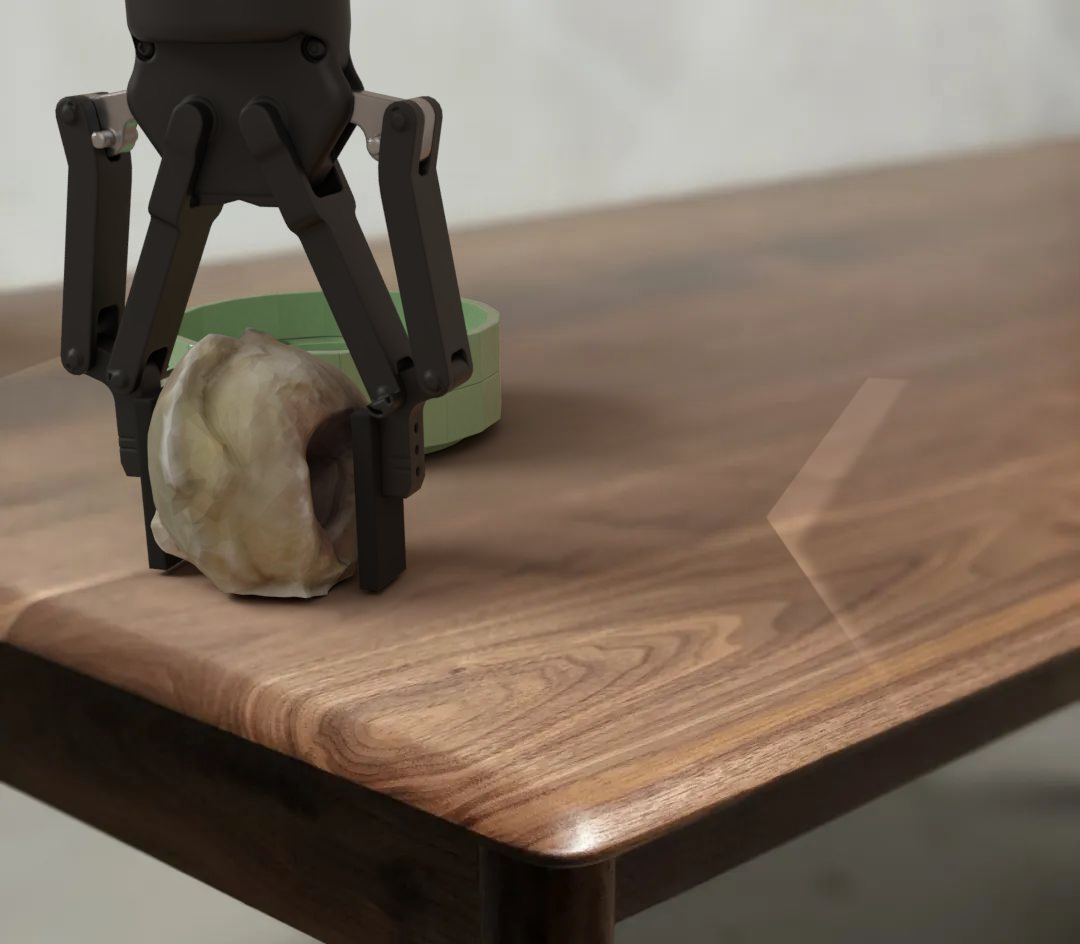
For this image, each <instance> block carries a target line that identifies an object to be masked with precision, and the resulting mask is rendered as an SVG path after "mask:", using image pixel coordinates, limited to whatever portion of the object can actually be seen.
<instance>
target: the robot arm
mask: <svg viewBox="0 0 1080 944" xmlns="http://www.w3.org/2000/svg"><path fill="white" fill-rule="evenodd" d="M124 6H125V7H124V8H125V17H126V26H127V30H128V31H129V34H130V37H131V40H132V43H133V47H134V53H135V55H134V56H135V57H134V64H133V68H132V72H131V74H130V77H129V79H128V82H127V86H126V89H124V90H123V89H122V90H118V91H113V92H108V91H96V92H89V93H84V94H83V93H82V94H75V95H67V96H64V97H62V98H60V99H59V100H58V102H57V103H56V106H55V109H54V111H55V112H54V114H55V121H56V123H57V128H58V131H59V135H60V140H61V144H62V147H63V151H64V156H65V159H66V163H67V186H66V187H67V188H66V189H67V190H66V210H65V213H66V214H65V217H66V218H65V232H64V233H65V237H64V259H63V260H64V261H63V285H62V305H61V308H62V310H61V332H60V354H59V355H60V362H61V364H62V366H63V368H64V369H65V370H66V372H67V373H69V374H70V375H73V376H81V375H86V376H88V377H90V378H91V379H94V380H97V381H99V382H101V383H102V384H104V385H105V386H106V387H107V388H108V389H109V391H110V392H111V394H112V396H113V401H114V410H115V419H116V420H115V421H116V428H117V429H116V430H117V437H118V439H117V440H118V447H119V458H120V459H119V460H120V464H121V467H122V469H123V471H124V473H125V475H126V477H131V478H140V487H141V497H142V509H143V519H144V529H145V540H146V541H145V542H146V550H147V560H148V569H150V570H160V571H168V570H170V569H171V568H173V567H175V566H177V565H178V564H180V563H181V562H183V561H185V560H184V559H182V558H179V557H177V556H175V555H172V554H169V553H166V552H165V551H163V550H162V549H161V548H160V547H159V545H158V544H157V542H156V541H155V538H154V535H153V532H152V529H151V522H152V520H153V518H154V516H155V513H156V507H155V504H154V499H153V493H152V487H151V481H150V475H149V468H148V432H149V427H150V423H151V419H152V415H153V411H154V408H155V406H156V403H157V400H158V398H159V395H160V393H161V391H162V389H163V387H164V386H163V387H162V380H163V379H165V378H168V377H169V376H170V374H171V372H172V371H173V369H174V368H172V369H170V370H167V369H168V368H169V366H168V365H169V361H170V358H171V355H172V352H173V348H174V345H175V342H176V339H177V336H178V332H179V329H180V326H181V323H182V319H183V316H184V313H185V310H186V308H187V306H188V304H189V303H188V302H189V299H190V296H191V293H192V290H193V287H194V284H195V282H196V281H195V280H196V277H197V274H198V271H199V268H200V265H201V262H202V258H203V254H204V251H205V249H206V244H207V241H208V239H209V235H210V232H211V229H212V226H213V224H214V223H215V220H216V219H217V218H218V217H219V216H220V214H221V213H222V210H223V208H224V206H225V205H226V204H230V203H234V202H238V201H241V202H243V203H247V204H250V205H254V206H256V207H260V208H277V209H278V211H279V213H280V214H281V217H282V219H283V221H284V223H285V225H286V228H288V229H289V231H290V232H291V233H293V234H294V235H295V236H296V237H297V238H298V240H299V242H300V244H301V246H302V248H303V250H304V253H305V255H306V257H307V259H308V262H309V264H310V266H311V268H312V271H313V273H314V276H315V278H316V280H317V282H318V284H319V287H320V289H321V290H322V291H323V293H324V296H325V298H326V300H327V302H328V305H329V307H330V309H331V311H332V314H333V316H334V318H335V320H336V323H337V325H338V327H339V329H340V332H341V334H342V336H343V339H344V341H345V343H346V345H347V348H348V350H349V352H350V354H351V357H352V359H353V361H354V363H355V366H356V368H357V370H358V372H359V375H360V377H361V379H362V381H363V384H364V386H365V388H366V391H367V393H368V395H369V397H370V400H371V402H372V403H370V404H368V405H367V406H365V407H363V408H361V409H360V410H358V411H356V412H354V413H352V414H351V427H352V446H353V466H354V486H355V506H356V526H357V545H358V581H359V584H358V585H359V590H364V591H372V592H373V591H375V592H379V591H381V590H382V589H383V588H384V587H386V586H388V584H389V583H391V582H392V581H393V580H395V579H396V578H397V577H399V576H400V575H401V574H402V573H403V572H404V571H406V570H407V553H406V551H407V550H406V531H405V530H406V529H405V528H406V526H405V503H404V502H405V501H404V500H406V499H408V498H410V497H411V496H412V495H414V494H415V493H417V492H418V491H420V490H421V489H422V486H423V483H424V480H425V477H426V461H425V459H426V458H425V457H426V456H425V454H424V427H423V408H424V405H425V402H426V401H427V400H429V399H432V398H439V397H442V396H444V395H445V394H447V393H449V392H450V391H452V390H453V389H455V388H457V387H458V386H460V385H462V384H463V383H465V382H467V381H468V380H469V379H470V378H471V375H472V373H473V362H472V357H471V352H470V346H469V341H468V336H467V330H466V325H465V320H464V314H463V309H462V303H461V298H460V297H461V293H460V287H459V282H458V277H457V271H456V266H455V261H454V255H453V249H452V245H451V239H450V234H449V230H448V223H447V218H446V213H445V207H444V202H443V198H442V197H443V196H442V192H441V187H440V186H441V185H440V181H439V175H438V170H437V165H438V157H439V151H440V150H439V149H440V143H441V142H440V141H441V134H442V125H443V118H444V117H443V108H442V106H441V104H440V102H439V101H437V99H435V98H434V97H431V96H430V95H420V96H415V97H412V98H402V97H397V96H393V95H387V94H383V93H379V92H374V91H369V90H365V86H364V84H363V82H362V80H361V78H360V76H359V74H358V73H357V69H356V68H355V65H354V62H353V59H352V55H351V35H352V34H351V33H352V12H351V0H124ZM138 126H139V128H140V129H141V131H142V132H143V134H144V136H146V138H147V139H148V141H149V142H150V144H151V145H152V146H153V148H154V150H155V151H156V153H158V156H159V157H160V158H161V159H160V163H159V166H158V170H157V174H156V177H155V180H154V184H153V187H152V191H151V194H150V198H149V201H148V205H147V212H148V214H149V215H150V219H149V223H148V227H147V230H146V234H145V238H144V240H143V244H142V247H141V251H140V255H139V258H138V262H137V265H136V268H135V271H134V274H133V278H132V282H131V285H130V288H129V292H128V296H127V298H126V295H127V294H126V293H127V277H128V260H129V259H128V258H129V240H130V224H131V206H132V204H131V203H132V202H131V201H132V189H133V188H132V186H133V163H132V153H131V151H132V150H133V149H134V148H135V146H136V142H137V141H138V139H139V131H138V129H137V127H138ZM357 127H358V128H360V130H361V131H362V132H363V136H364V138H365V145H366V146H365V147H366V150H367V152H368V154H369V156H370V157H371V158H372V159H373V160H375V161H376V162H377V177H378V178H377V179H378V187H379V194H380V199H381V205H382V210H383V211H382V212H383V216H384V220H385V225H386V231H387V236H388V241H389V247H390V252H391V257H392V260H393V261H392V262H393V267H394V270H395V271H394V272H395V276H396V282H397V287H398V290H399V292H400V297H401V302H402V307H403V312H404V317H405V322H406V327H407V332H408V335H407V333H406V331H405V328H404V326H403V324H402V321H401V319H400V317H399V314H398V312H397V310H396V308H395V305H394V303H393V301H392V298H391V296H390V294H389V291H388V290H389V289H388V287H387V284H386V283H385V280H384V278H383V275H382V273H381V271H380V268H379V265H378V264H377V262H376V259H375V257H374V255H373V253H372V250H371V248H370V245H369V243H368V240H367V238H366V236H365V234H364V232H363V229H362V227H361V224H360V222H359V220H358V217H357V215H356V209H357V202H356V199H355V196H354V194H353V191H352V188H351V187H350V184H349V182H348V180H347V177H346V175H345V173H344V171H343V168H342V166H341V163H340V162H339V159H338V158H339V157H340V155H341V153H342V152H343V150H344V148H345V146H346V144H347V143H348V142H349V140H350V138H351V136H352V135H353V133H354V131H355V129H356V128H357Z"/></svg>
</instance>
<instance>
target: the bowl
mask: <svg viewBox="0 0 1080 944" xmlns="http://www.w3.org/2000/svg"><path fill="white" fill-rule="evenodd" d="M388 291H389V294H390V296H391V298H392V301H393V303H394V305H395V308H396V310H397V312H398V314H399V317H400V319H401V321H402V324H403V326H404V328H405V331H406V333H407V335H408V332H407V327H406V322H405V317H404V312H403V307H402V302H401V297H400V292H399V289H388ZM460 298H461V303H462V309H463V314H464V320H465V325H466V330H467V336H468V341H469V346H470V352H471V357H472V362H473V373H472V375H471V378H470V379H469V380H468V381H467V382H465V383H463V384H462V385H460V386H458V387H457V388H455V389H453V390H452V391H450V392H449V393H447V394H445V395H444V396H442V397H439V398H432V399H429V400H427V401H426V402H425V405H424V408H423V427H424V455H428V454H432V453H434V452H438V451H441V450H444V449H446V448H449V447H451V446H454V445H456V444H458V443H459V442H461V441H462V440H465V438H468V437H471V436H474V435H477V434H480V433H482V432H484V431H485V430H486V429H488V428H489V427H490V426H492V425H493V424H495V423H496V422H498V421H500V420H501V417H502V407H503V406H502V405H503V404H502V402H503V401H502V361H501V360H502V358H501V357H502V355H501V353H502V352H501V313H500V311H498V310H497V309H495V308H493V307H492V306H490V305H489V304H487V303H485V302H483V301H478V300H474V299H471V298H470V299H469V298H466V297H462V296H460ZM249 327H251V328H254V329H255V330H259V331H263V332H267V333H269V334H271V335H273V336H274V338H275V339H276V340H278V341H279V342H280V343H283V344H286V345H289V346H293V347H298V348H301V349H303V350H305V351H307V352H308V353H310V354H311V355H314V356H316V357H318V358H320V359H323V360H325V361H327V362H329V363H331V364H332V365H334V366H336V367H337V368H339V369H340V370H341V371H343V372H344V373H345V374H346V375H347V376H348V377H349V378H350V379H351V380H352V381H353V382H354V383H355V384H357V386H358V387H359V389H360V390H361V392H362V393H363V395H364V396H365V398H366V399H367V401H368V402H369V404H370V403H372V402H371V400H370V397H369V395H368V393H367V391H366V388H365V386H364V384H363V381H362V379H361V377H360V375H359V372H358V370H357V368H356V366H355V363H354V361H353V359H352V357H351V354H350V352H349V350H348V348H347V345H346V343H345V341H344V339H343V336H342V334H341V332H340V329H339V327H338V325H337V323H336V320H335V318H334V316H333V314H332V311H331V309H330V307H329V305H328V302H327V300H326V298H325V296H324V293H323V291H322V289H321V288H320V289H306V290H293V291H279V292H278V291H277V292H267V293H259V294H258V293H257V294H251V295H243V296H235V297H228V298H223V299H217V300H213V301H209V302H205V303H204V302H203V303H199V304H195V305H191V306H189V307H186V310H185V313H184V316H183V319H182V323H181V326H180V329H179V332H178V336H177V339H176V342H175V345H174V348H173V352H172V355H171V358H170V361H169V365H168V366H169V368H168V369H167V370H170V369H172V368H175V367H176V365H177V364H178V362H179V361H180V360H181V358H182V357H183V356H184V354H185V353H186V352H187V351H188V350H189V349H190V348H191V347H192V346H193V345H195V344H196V343H198V342H199V341H200V340H202V339H203V338H204V337H206V336H207V335H208V334H211V333H212V334H220V335H225V336H230V337H233V338H237V339H238V338H239V337H240V336H241V334H242V333H243V332H244V330H245V329H246V328H249ZM168 378H169V377H168ZM168 378H165V379H163V380H161V387H163V386H164V385H165V383H166V382H167V380H168Z"/></svg>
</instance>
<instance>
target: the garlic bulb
mask: <svg viewBox="0 0 1080 944" xmlns="http://www.w3.org/2000/svg"><path fill="white" fill-rule="evenodd" d="M368 404H369V402H368V401H367V399H366V398H365V396H364V395H363V393H362V392H361V390H360V389H359V387H358V386H357V384H355V383H354V382H353V381H352V380H351V379H350V378H349V377H348V376H347V375H346V374H345V373H344V372H343V371H341V370H340V369H339V368H337V367H336V366H334V365H332V364H331V363H329V362H327V361H325V360H323V359H320V358H318V357H316V356H314V355H311V354H310V353H308V352H307V351H305V350H303V349H301V348H298V347H293V346H289V345H286V344H283V343H280V342H279V341H278V340H276V339H275V338H274V336H273V335H271V334H269V333H267V332H263V331H259V330H255V329H254V328H251V327H249V328H246V329H245V330H244V332H243V333H242V334H241V336H240V337H239V338H238V339H237V338H233V337H230V336H225V335H220V334H212V333H211V334H208V335H207V336H206V337H204V338H203V339H202V340H200V341H199V342H198V343H196V344H195V345H193V346H192V347H191V348H190V349H189V350H188V351H187V352H186V353H185V354H184V356H183V357H182V358H181V360H180V361H179V362H178V364H177V365H176V367H175V368H174V369H173V371H172V372H171V374H170V376H169V378H168V380H167V382H166V383H165V385H164V387H163V389H162V391H161V393H160V395H159V398H158V400H157V403H156V406H155V408H154V411H153V415H152V419H151V423H150V427H149V432H148V468H149V475H150V481H151V487H152V493H153V499H154V504H155V507H156V513H155V516H154V518H153V520H152V522H151V529H152V532H153V535H154V538H155V541H156V542H157V544H158V545H159V547H160V548H161V549H162V550H163V551H165V552H166V553H169V554H172V555H175V556H177V557H179V558H182V559H184V560H183V561H186V562H188V563H190V564H192V565H193V566H195V567H196V569H198V570H199V571H200V572H201V573H202V574H203V575H204V576H205V577H206V578H207V579H208V580H210V582H212V583H213V585H214V586H215V587H216V588H217V589H218V591H219V592H221V593H225V594H234V595H235V594H236V595H241V596H244V595H253V596H261V597H272V598H273V597H277V598H293V597H295V598H296V597H297V598H304V599H308V598H309V599H310V598H313V597H318V596H328V592H329V591H330V589H331V588H333V586H335V585H337V584H338V583H340V582H342V581H344V580H346V579H348V578H350V577H353V576H354V574H355V571H356V570H357V567H359V565H358V545H357V526H356V506H355V486H354V466H353V446H352V427H351V414H352V413H354V412H356V411H358V410H360V409H361V408H363V407H365V406H367V405H368Z"/></svg>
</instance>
